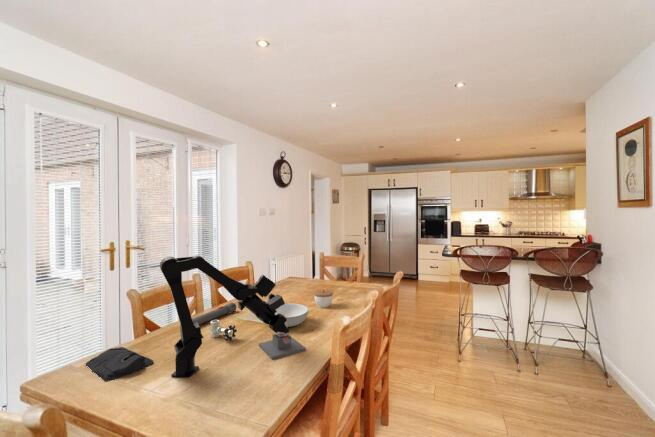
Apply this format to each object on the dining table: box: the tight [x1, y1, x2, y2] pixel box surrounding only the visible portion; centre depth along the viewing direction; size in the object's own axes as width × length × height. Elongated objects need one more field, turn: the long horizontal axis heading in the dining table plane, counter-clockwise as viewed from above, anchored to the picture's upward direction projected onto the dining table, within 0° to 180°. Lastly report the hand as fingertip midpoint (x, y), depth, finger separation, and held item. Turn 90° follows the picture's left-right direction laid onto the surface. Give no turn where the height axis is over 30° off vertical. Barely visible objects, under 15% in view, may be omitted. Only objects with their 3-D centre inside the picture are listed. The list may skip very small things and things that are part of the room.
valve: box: [209, 319, 238, 342], centre depth 135 cm, size 7×7×12 cm
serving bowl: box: [275, 302, 309, 328], centre depth 151 cm, size 21×21×7 cm
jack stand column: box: [275, 315, 289, 338], centre depth 124 cm, size 4×4×11 cm
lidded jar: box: [313, 289, 334, 309], centre depth 179 cm, size 11×11×9 cm
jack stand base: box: [258, 333, 307, 360], centre depth 124 cm, size 14×14×5 cm
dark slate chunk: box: [85, 346, 154, 382], centre depth 112 cm, size 15×22×5 cm
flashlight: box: [191, 301, 237, 326], centre depth 159 cm, size 5×28×5 cm, turn 155°
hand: (284, 329), depth 125 cm, fingers open, 6 cm apart
